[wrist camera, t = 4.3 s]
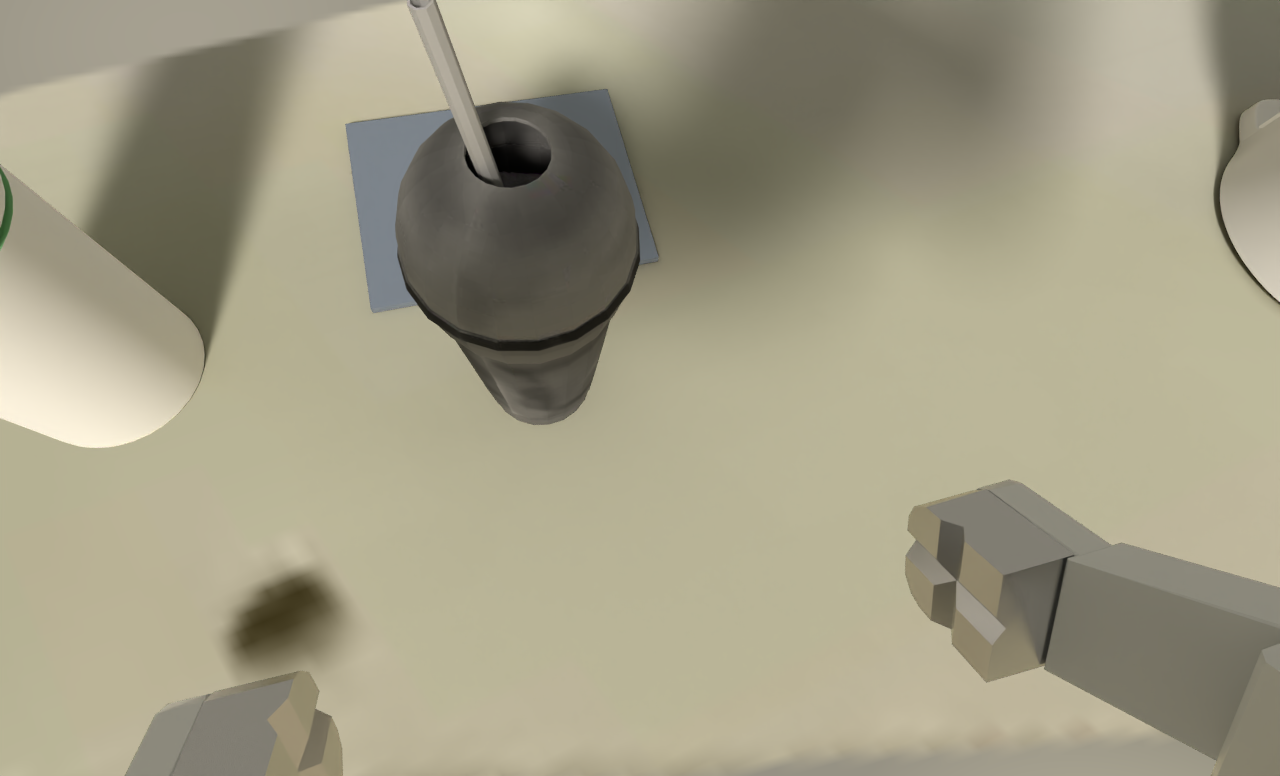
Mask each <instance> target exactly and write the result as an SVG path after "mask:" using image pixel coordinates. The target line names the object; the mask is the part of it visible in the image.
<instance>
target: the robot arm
mask: <svg viewBox="0 0 1280 776" xmlns="http://www.w3.org/2000/svg"><path fill="white" fill-rule="evenodd" d="M1239 139H1240V144H1239V147H1238V149H1237V151H1236V153H1235V154H1234V156H1233V157H1232V159H1231V160H1230V162H1229V163H1228V165H1227V167H1226V169H1225V171H1224V174H1223V177H1222V181H1221V186H1220V205H1221V212H1222V216H1223V220H1224V223H1225V226H1226V229H1227V232H1228V234H1229V237H1230V239H1231V241H1232V243H1233V245H1234V247H1235V249H1236V251H1237V252H1238V254H1239V256H1240V257H1241V259H1242V260H1243V262H1244V263H1245V265H1246V266H1247V267H1248V269H1249V270H1250V271H1251V273H1252V274H1253V275H1254V276H1255V278H1256V279H1257V280H1258V281H1259V282H1260V283H1261V284H1262V286H1263V287H1264V288H1265V289H1266V290H1267V291H1268V292H1269V293H1270V294H1271V295H1272V296H1273V297H1274V298H1276V299H1277V300H1278V301H1279V302H1280V99H1266V100H1261V101H1259V102H1258V103H1256V104H1254V105H1253V106H1251V107H1250V108H1248V109H1247V110H1245V111H1244V112H1243V113H1242V114H1241V117H1240V122H1239ZM908 531H909V533H910V534H911V535H912V536H913V537H914V538H915V539H916V541H915V543H914V544H913V545H912V547H911V548H910V550H909V551H908V553H907V554H906V561H905V575H906V578H907V582H908V585H909V588H910V592H911V594H912V596H913V597H914V599H915V601H916V602H917V604H918V606H919V607H920V608H921V610H922V611H923V612H924V613H925V614H926V615H927V617H928V618H929V619H930V620H931V621H934V622H936V623H938V624H941V625H943V626H945V627H948V628H950V629H951V636H952V645H953V646H954V647H955V648H956V649H957V650H958V652H959V653H960V654H961V655H962V656H963V657H964V658H965V659H966V660H967V662H968V663H969V664H970V665H971V666H972V667H973V668H974V669H975V670H976V672H977V673H978V674H979V675H980V676H981V677H982V678H983V679H984V681H985V682H990V681H993V680H997V679H1000V678H1004V677H1007V676H1011V675H1014V674H1017V673H1021V672H1024V671H1028V670H1031V669H1035V668H1038V667H1042V666H1045V667H1044V669H1045V670H1046V671H1048V672H1050V673H1052V674H1054V675H1056V676H1058V677H1060V678H1062V679H1063V680H1065V681H1067V682H1069V683H1071V684H1073V685H1075V686H1077V687H1078V688H1080V689H1082V690H1084V691H1086V692H1088V693H1090V694H1092V695H1094V696H1095V697H1097V698H1099V699H1101V700H1103V701H1105V702H1107V703H1109V704H1111V705H1112V706H1114V707H1116V708H1118V709H1120V710H1122V711H1124V712H1126V713H1127V714H1129V715H1131V716H1133V717H1135V718H1137V719H1139V720H1141V721H1143V722H1144V723H1146V724H1148V725H1150V726H1152V727H1154V728H1156V729H1158V730H1159V731H1161V732H1163V733H1165V734H1167V735H1169V736H1171V737H1173V738H1175V739H1176V740H1178V741H1181V742H1182V743H1184V744H1186V745H1188V746H1190V747H1192V748H1193V749H1195V750H1197V751H1199V752H1201V753H1203V754H1205V755H1207V756H1209V757H1211V758H1212V759H1214V760H1216V764H1215V766H1214V769H1213V771H1212V774H1211V776H1280V588H1279V587H1276V586H1272V585H1269V584H1265V583H1262V582H1258V581H1255V580H1251V579H1248V578H1244V577H1241V576H1237V575H1234V574H1230V573H1227V572H1223V571H1219V570H1216V569H1212V568H1209V567H1205V566H1202V565H1198V564H1195V563H1191V562H1188V561H1184V560H1181V559H1177V558H1174V557H1170V556H1167V555H1163V554H1160V553H1156V552H1153V551H1149V550H1146V549H1142V548H1139V547H1135V546H1132V545H1128V544H1125V543H1119V544H1116V545H1111V544H1109V543H1108V542H1106V541H1105V540H1103V539H1102V538H1100V537H1099V536H1098V535H1096V534H1095V533H1093V532H1092V531H1090V530H1089V529H1087V528H1086V527H1085V526H1083V525H1082V524H1080V523H1079V522H1077V521H1076V520H1074V519H1073V518H1072V517H1070V516H1069V515H1067V514H1066V513H1064V512H1063V511H1061V510H1060V509H1058V508H1057V507H1056V506H1054V505H1053V504H1051V503H1050V502H1048V501H1047V500H1045V499H1044V498H1043V497H1041V496H1040V495H1038V494H1037V493H1035V492H1034V491H1032V490H1031V489H1030V488H1028V487H1027V486H1025V485H1024V484H1022V483H1020V482H1017V481H1013V480H1006V481H1002V482H999V483H995V484H992V485H988V486H985V487H981V488H978V489H977V490H973V491H969V492H965V493H962V494H958V495H954V496H951V497H947V498H943V499H940V500H936V501H933V502H929V503H925V504H922V505H918V506H914V507H913V509H912V511H911V513H910V515H909V520H908ZM318 695H319V689H318V688H317V686H316V684H315V682H314V680H313V678H312V676H311V675H310V673H309V672H305V671H297V672H293V673H289V674H285V675H281V676H276V677H272V678H268V679H264V680H260V681H256V682H252V683H248V684H244V685H239V686H235V687H231V688H227V689H223V690H219V691H215V692H213V693H212V694H207V695H203V696H198V697H194V698H190V699H186V700H182V701H177V702H173V703H169V704H167V705H166V706H165V707H164V708H162V709H161V710H160V711H159V712H158V713H157V714H156V715H155V716H154V718H153V720H152V722H151V724H150V726H149V728H148V730H147V732H146V734H145V736H144V738H143V740H142V742H141V744H140V746H139V748H138V750H137V752H136V754H135V756H134V758H133V760H132V762H131V764H130V766H129V768H128V770H127V772H126V774H125V776H343V761H342V746H341V742H340V737H339V733H338V730H337V727H336V725H335V723H334V721H333V719H332V716H330V715H328V714H325V713H323V712H321V711H319V710H317V709H315V708H316V704H317V699H318Z"/></svg>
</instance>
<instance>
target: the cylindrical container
mask: <svg viewBox="0 0 1280 776" xmlns="http://www.w3.org/2000/svg"><path fill="white" fill-rule="evenodd" d="M204 359H205V353H204V345H203V341H202V338H201V336H200V333H199V330H198V329H197V328H196V326H195V325H194V323H193V322H192V320H191V319H190V318H189V317H187V316H186V315H185V314H184V313H183V312H182V311H180V310H179V309H178V308H177V307H175V306H174V305H173V304H172V303H171V302H169V301H168V300H167V299H166V298H164V297H163V296H162V295H161V294H159V293H158V292H157V291H156V290H155V289H153V288H152V287H151V286H150V285H148V284H147V283H146V282H145V281H143V280H142V279H141V278H140V277H139V276H137V275H136V274H135V273H134V272H132V271H131V270H130V269H129V268H127V267H126V266H125V265H124V264H123V263H121V262H120V261H119V260H118V259H116V258H115V257H114V256H113V255H111V254H110V253H109V252H108V251H107V250H105V249H104V248H103V247H102V246H100V245H99V244H98V243H97V242H95V241H94V240H93V239H92V238H90V237H89V236H88V235H87V234H86V233H84V232H83V231H82V230H81V229H79V228H78V227H77V226H76V225H74V224H73V223H72V222H71V221H70V220H68V219H67V218H66V217H65V216H63V215H62V214H61V213H60V212H58V211H57V210H56V209H55V208H54V207H52V206H51V205H50V204H49V203H47V202H46V201H45V200H44V199H42V198H41V197H40V196H39V195H38V194H36V193H35V192H34V191H33V190H31V189H30V188H29V187H28V186H26V185H25V184H24V183H23V182H22V181H20V180H19V179H18V178H17V177H15V176H14V175H13V174H12V173H10V172H9V171H8V170H7V169H6V168H4V167H3V166H2V165H1V164H0V418H1V419H4V420H7V421H9V422H12V423H15V424H17V425H20V426H23V427H25V428H28V429H31V430H33V431H36V432H39V433H41V434H44V435H47V436H49V437H52V438H55V439H57V440H60V441H63V442H66V443H69V444H73V445H76V446H80V447H92V448H103V447H113V446H118V445H122V444H126V443H130V442H133V441H135V440H138V439H140V438H142V437H145V436H147V435H149V434H151V433H153V432H154V431H156V430H157V429H159V428H161V427H162V426H164V425H165V424H166V423H168V422H169V421H170V420H171V419H172V418H173V417H175V416H176V415H177V414H178V413H179V412H180V411H181V410H182V408H183V407H184V406H185V405H186V404H187V402H188V401H189V400H190V399H191V397H192V395H193V393H194V392H195V390H196V388H197V386H198V384H199V382H200V379H201V375H202V372H203V369H204Z"/></svg>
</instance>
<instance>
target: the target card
mask: <svg viewBox="0 0 1280 776" xmlns="http://www.w3.org/2000/svg"><path fill="white" fill-rule="evenodd" d="M513 102H515V103H530V104H534V105H537V106H541V107H544V108H548V109H551V110H555V111H557V112H559V113H561V114H563V115H564V116H566V117H568V118H569V119H571V120H573V121H574V122H576V123H578V124H579V125H581V126H582V127H584V128H586V129H587V130H588V131H589V132H590V133H591V134H592V135H593V136H594V137H595V138H596V139H597V140H598V142H599V143H600V144H601V145H602V146H603V147H604V148H605V149H606V150H607V151H608V153H609V154H610V155H611V156H612V157H613V158H614V159H615V161H616V163H617V165H618V167H619V169H620V171H621V173H622V175H623V178H624V180H625V182H626V185H627V187H628V189H629V192H630V194H631V196H632V199H633V203H634V208H635V218H636V220H637V223H638V227H639V242H640V262H639V265H640V264H645V263H651V262H656V261H658V254H657V250H656V247H655V244H654V240H653V237H652V234H651V231H650V227H649V224H648V221H647V218H646V214H645V211H644V208H643V205H642V201H641V198H640V195H639V192H638V188H637V185H636V182H635V178H634V175H633V172H632V169H631V165H630V162H629V159H628V156H627V152H626V149H625V146H624V143H623V139H622V136H621V133H620V130H619V126H618V123H617V120H616V116H615V113H614V110H613V107H612V103H611V100H610V97H609V94H608V90H607V89H603V90H595V91H588V92H580V93H573V94H565V95H558V96H550V97H543V98H535V99H528V100H520V101H513ZM483 106H484V105H483ZM476 107H479V106H476ZM451 118H453V114H452V112H451V110H446V111H438V112H431V113H423V114H416V115H408V116H401V117H394V118H386V119H379V120H371V121H364V122H356V123H349V124H345V125H346V132H347V139H348V147H349V154H350V161H351V168H352V176H353V183H354V190H355V198H356V205H357V212H358V219H359V227H360V234H361V241H362V248H363V256H364V263H365V270H366V278H367V285H368V292H369V299H370V307H371V310H372V312H373V313H376V312H381V311H387V310H392V309H398V308H403V307H409V306H414V305H418V304H417V303H416V302H415V300H414V299H413V298H412V296H411V295H410V294H409V292H408V291H407V289H406V286H405V282H404V279H403V275H402V272H401V268H400V265H399V261H398V258H397V248H398V244H397V240H396V232H395V221H396V211H397V202H398V193H399V188H400V184H401V181H402V179H403V177H404V175H405V173H406V171H407V169H408V167H409V165H410V163H411V161H412V159H413V157H414V155H415V154H416V152H417V150H418V148H419V146H420V145H421V144H422V143H423V142H424V141H425V140H426V139H427V138H429V137H430V136H431V135H432V134H433V133H434V132H435V131H436V130H437V129H438V128H439V127H440V126H441V125H442V124H443V123H445V122H446V121H447V120H449V119H451Z"/></svg>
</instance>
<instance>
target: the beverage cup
mask: <svg viewBox="0 0 1280 776" xmlns="http://www.w3.org/2000/svg"><path fill="white" fill-rule="evenodd" d="M407 6H408V8H409V11H410V13H411V15H412V18H413V20H414V23H415V25H416V27H417V30H418V32H419V35H420V37H421V40H422V42H423V44H424V47H425V49H426V52H427V54H428V56H429V59H430V61H431V64H432V66H433V69H434V71H435V73H436V76H437V78H438V81H439V83H440V85H441V88H442V90H443V93H444V95H445V98H446V100H447V102H448V105H449V107H450V110H451V112H452V114H453V118H451V119H449V120H447V121H446V122H445V123H443V124H442V125H441V126H440V127H439V128H438V129H437V130H436V131H435V132H434V133H433V134H432V135H431V136H430V137H429V138H427V139H426V140H425V141H424V142H423V143H422V144H421V145H420V146H419V148H418V150H417V152H416V154H415V155H414V157H413V159H412V161H411V163H410V165H409V167H408V169H407V171H406V173H405V175H404V177H403V179H402V181H401V184H400V188H399V193H398V202H397V211H396V221H395V232H396V240H397V244H398V248H397V258H398V261H399V265H400V268H401V272H402V275H403V279H404V282H405V286H406V289H407V291H408V292H409V294H410V295H411V296H412V298H413V299H414V300H415V302H416V303H417V304H418V306H419V307H420V308H421V310H422V311H423V312H424V314H425V315H426V316H427V318H428V319H429V320H431V321H432V322H434V323H435V324H437V325H438V326H439V327H440V328H442V329H443V330H444V331H445V332H446V333H447V334H448V335H449V336H450V337H451V338H453V339H454V340H456V342H457V343H458V345H459V346H460V348H461V349H462V351H463V352H464V354H465V355H466V357H467V359H468V360H469V362H470V363H471V365H472V366H473V368H474V369H475V371H476V372H477V374H478V375H479V377H480V378H481V380H482V381H483V383H484V384H485V386H486V387H487V389H488V390H489V392H490V393H491V394H492V396H493V397H494V398H495V400H496V401H497V402H498V404H500V405H501V406H502V408H503V409H504V410H505V412H507V413H508V414H510V415H511V416H513V417H514V418H516V419H517V420H519V421H522V422H526V423H529V424H533V425H544V424H552V423H555V422H558V421H561V420H564V419H565V418H567V417H568V416H569V415H571V414H572V413H574V412H575V411H576V410H577V409H578V408H579V406H580V405H581V404H582V402H583V401H584V400H585V397H586V394H587V392H588V390H589V389H590V386H591V383H592V380H593V377H594V373H595V370H596V367H597V363H598V360H599V356H600V353H601V350H602V346H603V343H604V339H605V336H606V332H607V329H608V326H609V322H610V319H611V318H612V317H613V316H614V314H615V312H616V311H617V309H618V307H619V306H620V304H621V302H622V301H623V300H624V298H625V297H626V296H627V295H628V293H629V292H630V290H631V287H632V284H633V281H634V278H635V275H636V272H637V269H638V266H639V262H640V242H639V227H638V223H637V220H636V218H635V208H634V203H633V199H632V196H631V194H630V192H629V189H628V187H627V185H626V182H625V180H624V178H623V175H622V173H621V171H620V169H619V167H618V165H617V163H616V161H615V159H614V158H613V157H612V156H611V155H610V154H609V153H608V151H607V150H606V149H605V148H604V147H603V146H602V145H601V144H600V143H599V142H598V140H597V139H596V138H595V137H594V136H593V135H592V134H591V133H590V132H589V131H588V130H587V129H586V128H584V127H582V126H581V125H579V124H578V123H576V122H574V121H573V120H571V119H569V118H568V117H566V116H564V115H563V114H561V113H559V112H557V111H555V110H551V109H548V108H544V107H541V106H537V105H534V104H530V103H515V102H497V103H493V104H488V105H484V106H479V107H475V106H474V103H473V100H472V98H471V95H470V92H469V89H468V87H467V84H466V81H465V79H464V76H463V73H462V70H461V68H460V65H459V62H458V59H457V57H456V54H455V51H454V49H453V46H452V43H451V40H450V38H449V35H448V32H447V29H446V27H445V24H444V21H443V19H442V16H441V13H440V10H439V8H438V5H437V2H436V0H407Z"/></svg>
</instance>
